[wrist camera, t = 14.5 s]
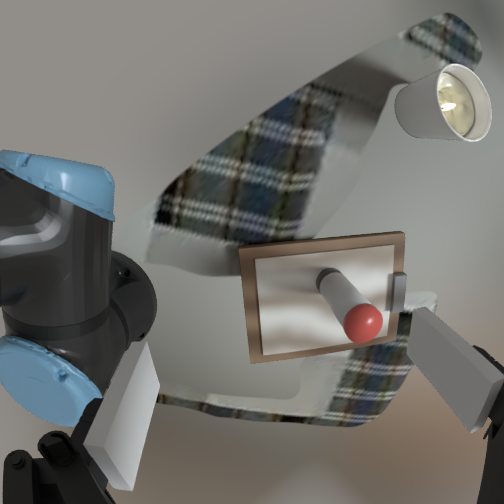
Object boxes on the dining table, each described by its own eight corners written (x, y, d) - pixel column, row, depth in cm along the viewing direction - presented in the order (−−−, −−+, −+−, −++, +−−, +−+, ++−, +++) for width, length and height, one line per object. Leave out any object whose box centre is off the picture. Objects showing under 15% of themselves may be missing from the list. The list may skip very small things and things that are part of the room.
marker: (314, 268, 42) (346, 310, 29) (343, 265, 42) (384, 304, 29) (315, 297, 43) (345, 346, 30) (343, 293, 43) (381, 339, 30)
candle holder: (443, 146, 40) (495, 145, 28) (392, 141, 39) (440, 137, 28) (437, 86, 37) (486, 73, 26) (386, 77, 37) (430, 55, 25)
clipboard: (238, 246, 42) (238, 251, 40) (400, 230, 43) (409, 234, 40) (250, 358, 47) (251, 368, 44) (391, 335, 48) (398, 343, 45)
